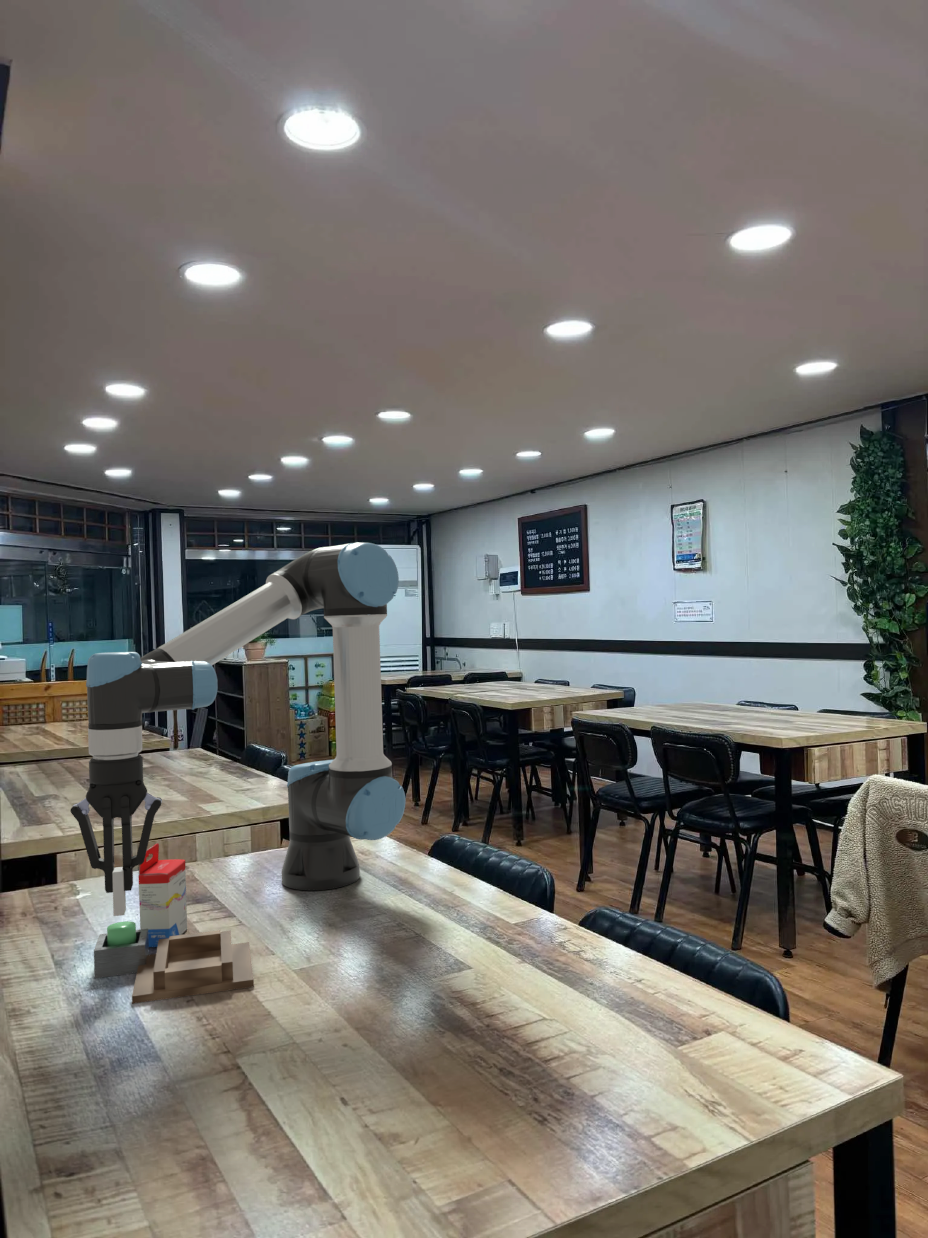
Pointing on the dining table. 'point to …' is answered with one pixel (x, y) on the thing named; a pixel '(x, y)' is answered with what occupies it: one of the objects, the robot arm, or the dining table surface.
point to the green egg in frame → (120, 956)
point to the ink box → (162, 896)
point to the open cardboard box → (193, 967)
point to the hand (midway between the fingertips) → (119, 912)
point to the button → (121, 933)
